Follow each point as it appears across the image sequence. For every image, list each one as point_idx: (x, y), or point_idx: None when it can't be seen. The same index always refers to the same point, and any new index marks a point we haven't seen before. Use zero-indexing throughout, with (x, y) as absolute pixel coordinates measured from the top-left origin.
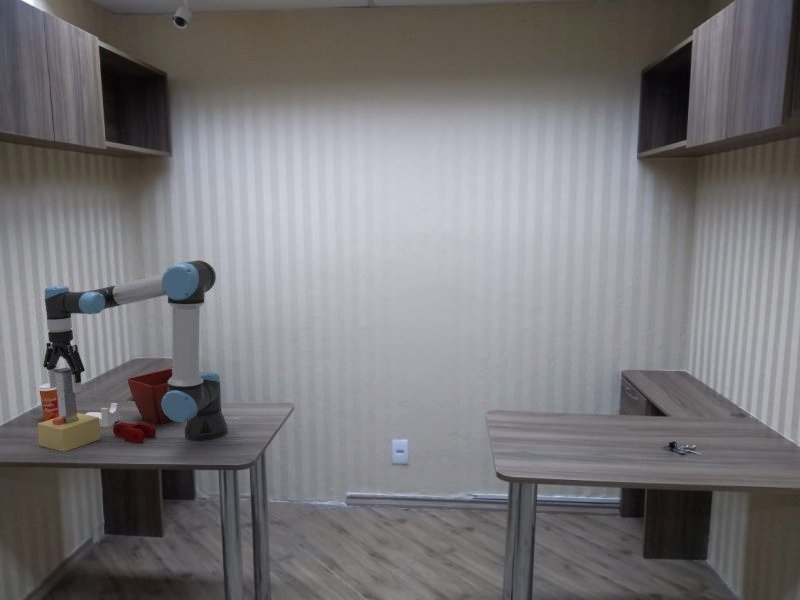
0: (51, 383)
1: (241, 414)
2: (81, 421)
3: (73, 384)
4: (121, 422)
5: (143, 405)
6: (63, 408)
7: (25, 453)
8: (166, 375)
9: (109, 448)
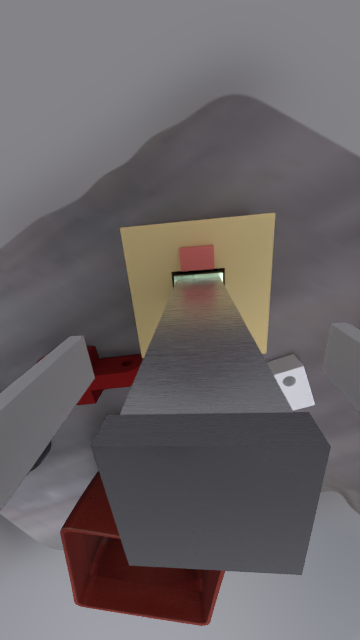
0: (351, 343)
1: (62, 505)
2: (151, 312)
3: (34, 366)
4: (129, 385)
5: None
6: (186, 289)
7: (228, 156)
8: (205, 592)
9: (75, 304)
